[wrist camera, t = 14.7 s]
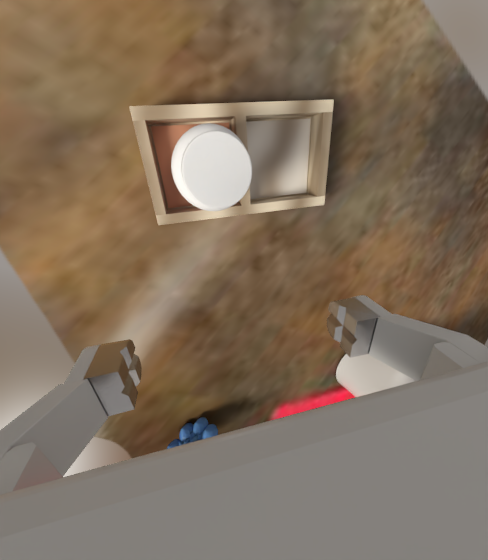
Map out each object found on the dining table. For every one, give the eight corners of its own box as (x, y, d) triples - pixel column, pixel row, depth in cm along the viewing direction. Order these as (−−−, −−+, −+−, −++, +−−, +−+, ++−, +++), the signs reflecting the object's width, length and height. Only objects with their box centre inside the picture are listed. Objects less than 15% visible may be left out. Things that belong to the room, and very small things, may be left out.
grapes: (174, 446, 47) (172, 527, 36) (154, 432, 43) (145, 517, 33) (224, 419, 47) (237, 493, 36) (208, 403, 43) (217, 479, 33)
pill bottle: (168, 133, 23) (159, 112, 13) (230, 133, 24) (264, 114, 14) (178, 200, 25) (176, 222, 16) (233, 196, 27) (262, 216, 17)
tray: (315, 106, 26) (333, 99, 23) (309, 200, 30) (324, 204, 27) (136, 113, 22) (129, 106, 19) (160, 218, 27) (158, 225, 24)
